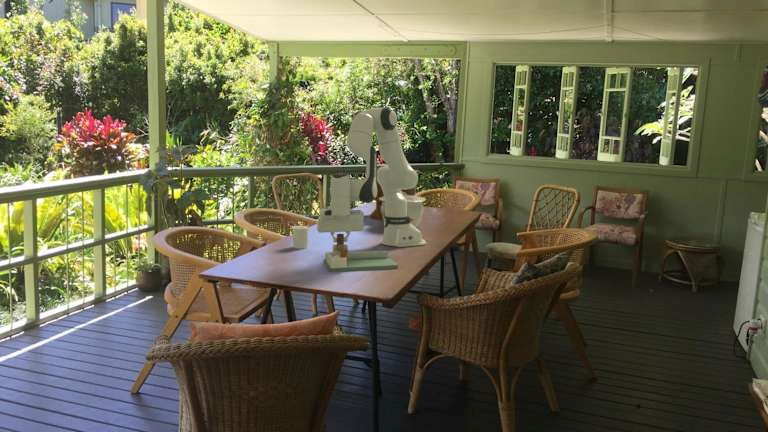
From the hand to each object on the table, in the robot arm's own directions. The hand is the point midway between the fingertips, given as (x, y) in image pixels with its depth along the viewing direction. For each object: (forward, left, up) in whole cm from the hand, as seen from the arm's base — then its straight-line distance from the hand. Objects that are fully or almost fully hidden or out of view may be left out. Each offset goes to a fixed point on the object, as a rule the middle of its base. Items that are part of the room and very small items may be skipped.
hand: (340, 241), depth 273 cm
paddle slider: (0, +5, -7) cm, 9 cm away
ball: (+3, +8, -6) cm, 11 cm away
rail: (-7, 0, -8) cm, 11 cm away
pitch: (-8, +6, -10) cm, 13 cm away
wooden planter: (-55, -116, -10) cm, 128 cm away
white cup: (+13, -36, -10) cm, 39 cm away
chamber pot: (-51, -80, -10) cm, 95 cm away
